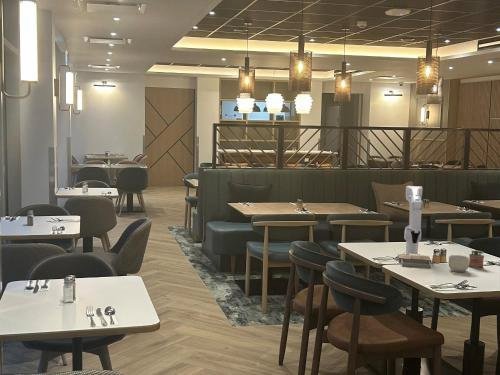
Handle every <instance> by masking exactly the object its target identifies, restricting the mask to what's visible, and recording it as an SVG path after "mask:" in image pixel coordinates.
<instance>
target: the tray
mask: <svg viewBox="0 0 500 375" xmlns="http://www.w3.org/2000/svg"><path fill="white" fill-rule="evenodd" d="M400 265H401V267H408V268H419V269H420V268H421V269H432V262H431V263H430V261H419V260H405V259H401V262H400Z"/></svg>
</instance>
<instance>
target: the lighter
mask: <svg viewBox="0 0 500 375" xmlns="http://www.w3.org/2000/svg"><path fill="white" fill-rule="evenodd" d="M483 254H484V251H482V250H473V249H472V250H471V253H469V254H468V257H469V266H468V268H470V269H471V268H472V269H479V270H483V269H484V259H485V255H483Z"/></svg>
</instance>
